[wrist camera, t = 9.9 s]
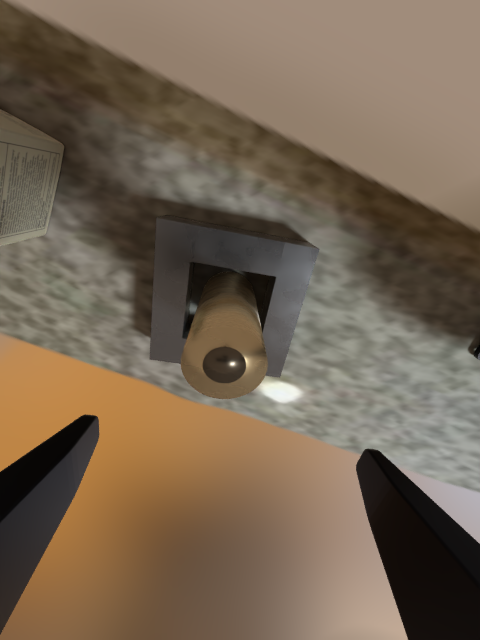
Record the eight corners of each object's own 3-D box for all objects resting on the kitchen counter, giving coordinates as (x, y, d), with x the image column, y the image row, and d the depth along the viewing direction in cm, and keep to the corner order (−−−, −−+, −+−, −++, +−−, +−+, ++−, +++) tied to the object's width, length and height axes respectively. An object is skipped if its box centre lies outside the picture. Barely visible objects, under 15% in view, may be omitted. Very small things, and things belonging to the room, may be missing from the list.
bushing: (259, 276, 20) (277, 335, 11) (248, 323, 21) (257, 404, 13) (206, 267, 19) (184, 320, 11) (199, 316, 21) (177, 393, 13)
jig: (309, 242, 19) (319, 248, 16) (275, 359, 23) (279, 377, 21) (166, 214, 18) (156, 217, 15) (158, 342, 22) (149, 359, 20)
